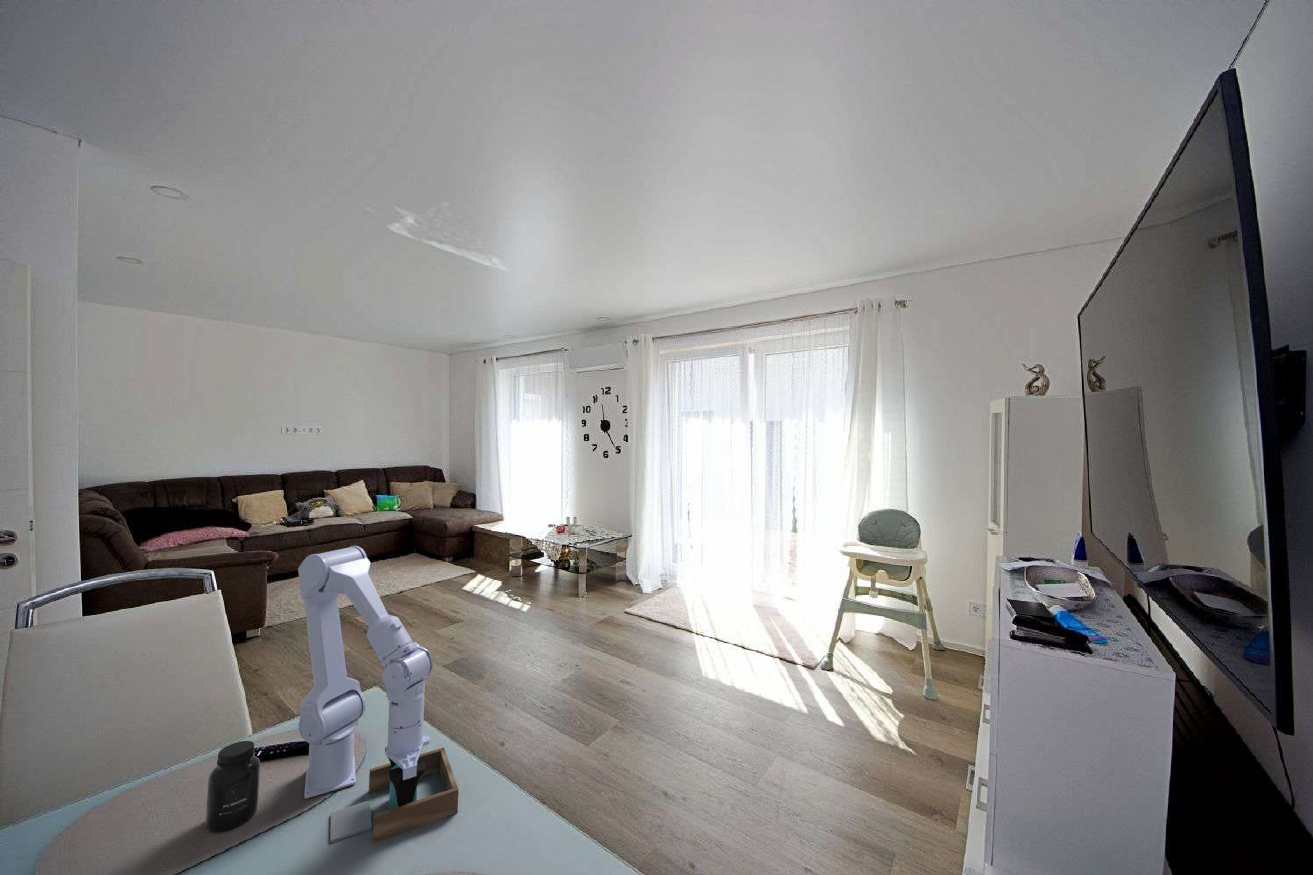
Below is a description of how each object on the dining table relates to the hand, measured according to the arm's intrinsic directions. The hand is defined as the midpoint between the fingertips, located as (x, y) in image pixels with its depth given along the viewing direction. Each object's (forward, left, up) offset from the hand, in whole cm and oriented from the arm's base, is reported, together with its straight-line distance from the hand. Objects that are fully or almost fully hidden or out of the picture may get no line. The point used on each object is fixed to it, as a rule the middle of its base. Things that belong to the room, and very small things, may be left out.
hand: (403, 795), depth 88 cm
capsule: (0, 0, -2) cm, 2 cm away
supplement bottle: (-11, -25, -2) cm, 27 cm away
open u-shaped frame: (0, +2, -2) cm, 2 cm away
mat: (0, -8, -2) cm, 8 cm away
